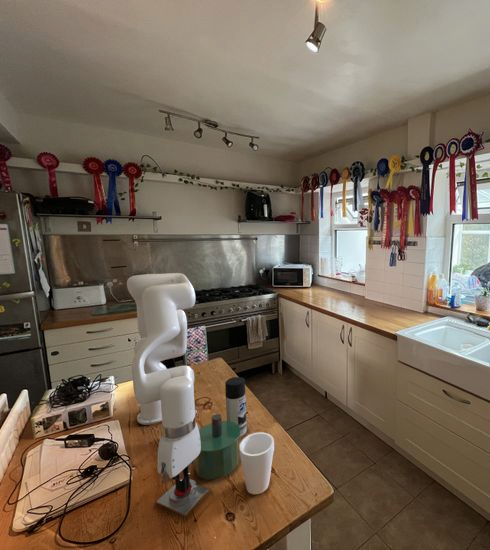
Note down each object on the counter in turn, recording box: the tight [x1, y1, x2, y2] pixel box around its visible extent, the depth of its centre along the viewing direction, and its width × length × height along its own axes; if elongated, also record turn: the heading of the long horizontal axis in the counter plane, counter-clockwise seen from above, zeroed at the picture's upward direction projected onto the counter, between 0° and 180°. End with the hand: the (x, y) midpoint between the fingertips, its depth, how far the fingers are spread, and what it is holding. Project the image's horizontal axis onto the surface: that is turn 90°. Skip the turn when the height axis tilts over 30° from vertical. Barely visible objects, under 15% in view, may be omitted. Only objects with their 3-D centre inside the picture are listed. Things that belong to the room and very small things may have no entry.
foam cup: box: [239, 431, 275, 495], centre depth 82 cm, size 10×9×13 cm
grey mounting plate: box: [155, 478, 210, 518], centre depth 78 cm, size 10×8×3 cm
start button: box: [175, 488, 190, 496], centre depth 78 cm, size 4×4×2 cm
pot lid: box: [199, 413, 241, 453], centre depth 89 cm, size 14×14×7 cm
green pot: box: [194, 437, 240, 480], centre depth 90 cm, size 13×13×10 cm
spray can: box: [224, 376, 248, 438], centre depth 103 cm, size 7×7×20 cm
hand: (182, 488), depth 78 cm, fingers closed
